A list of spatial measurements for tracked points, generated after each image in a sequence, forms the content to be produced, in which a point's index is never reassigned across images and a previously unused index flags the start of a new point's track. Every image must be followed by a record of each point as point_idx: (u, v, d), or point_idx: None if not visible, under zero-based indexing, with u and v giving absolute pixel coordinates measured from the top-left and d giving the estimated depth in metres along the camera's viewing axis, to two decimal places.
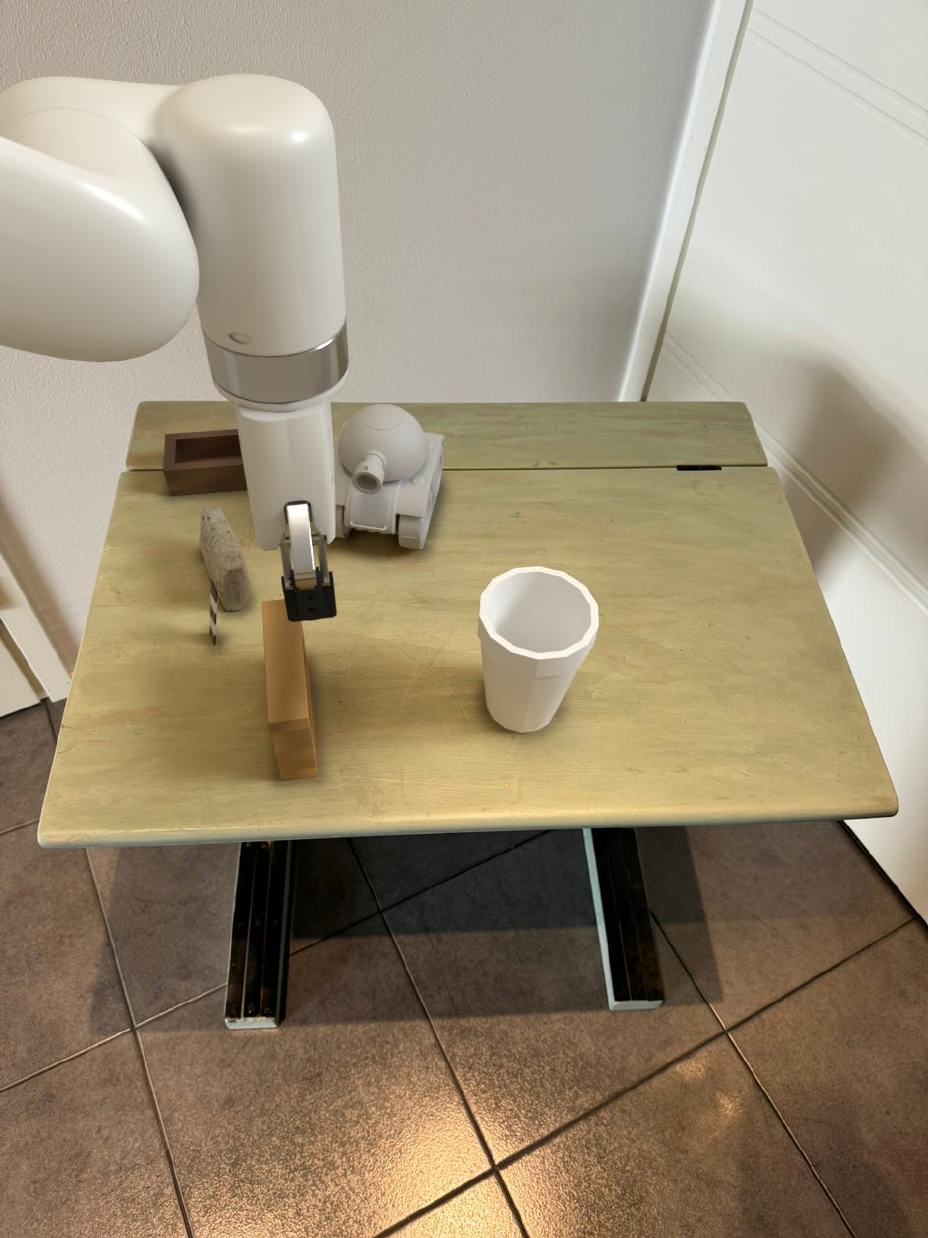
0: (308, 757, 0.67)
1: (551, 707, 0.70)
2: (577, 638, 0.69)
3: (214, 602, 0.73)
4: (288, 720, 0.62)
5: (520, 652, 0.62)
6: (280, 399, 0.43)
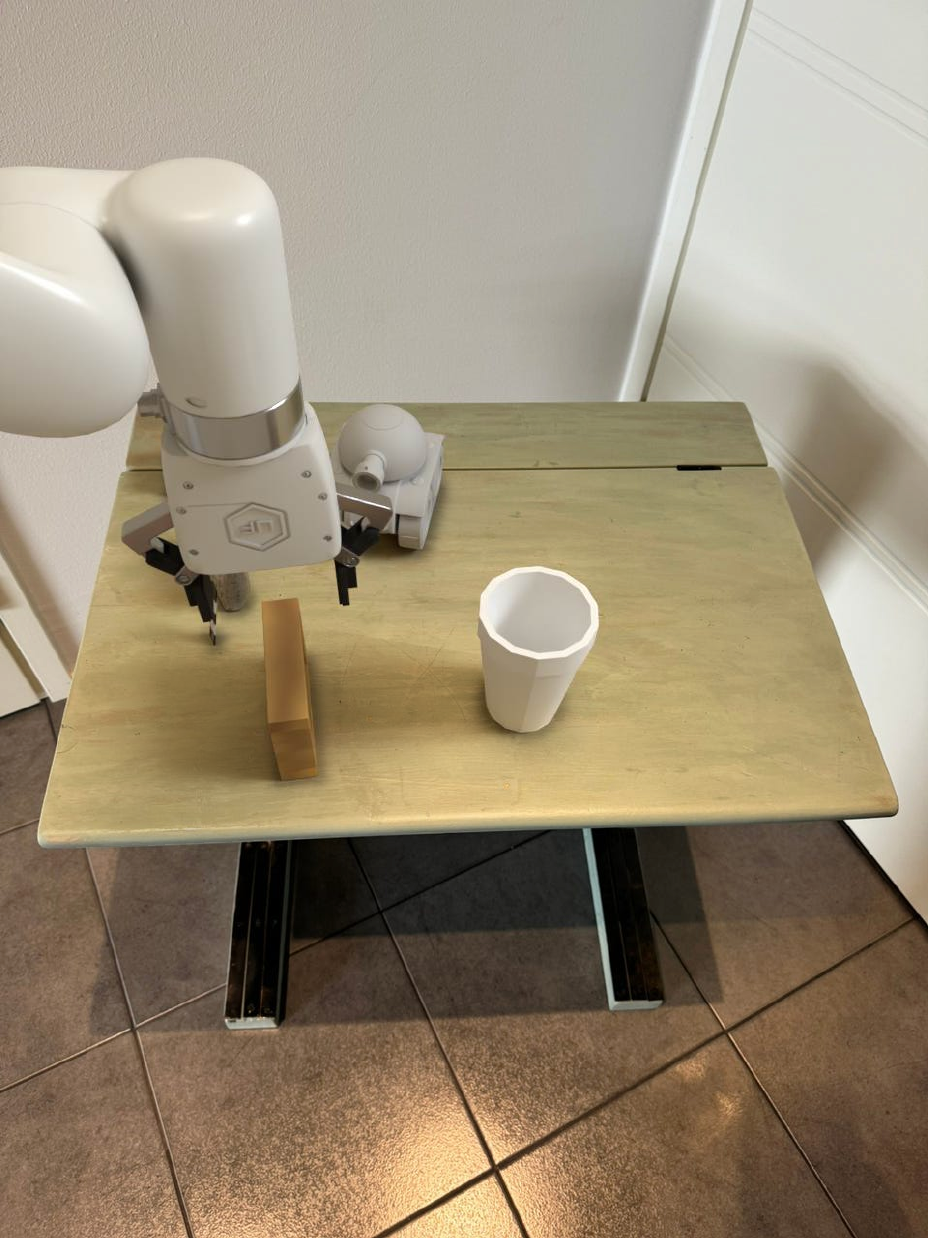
0: (308, 757, 0.67)
1: (551, 707, 0.70)
2: (577, 638, 0.69)
3: (214, 602, 0.73)
4: (288, 720, 0.62)
5: (520, 652, 0.62)
6: (304, 409, 0.48)
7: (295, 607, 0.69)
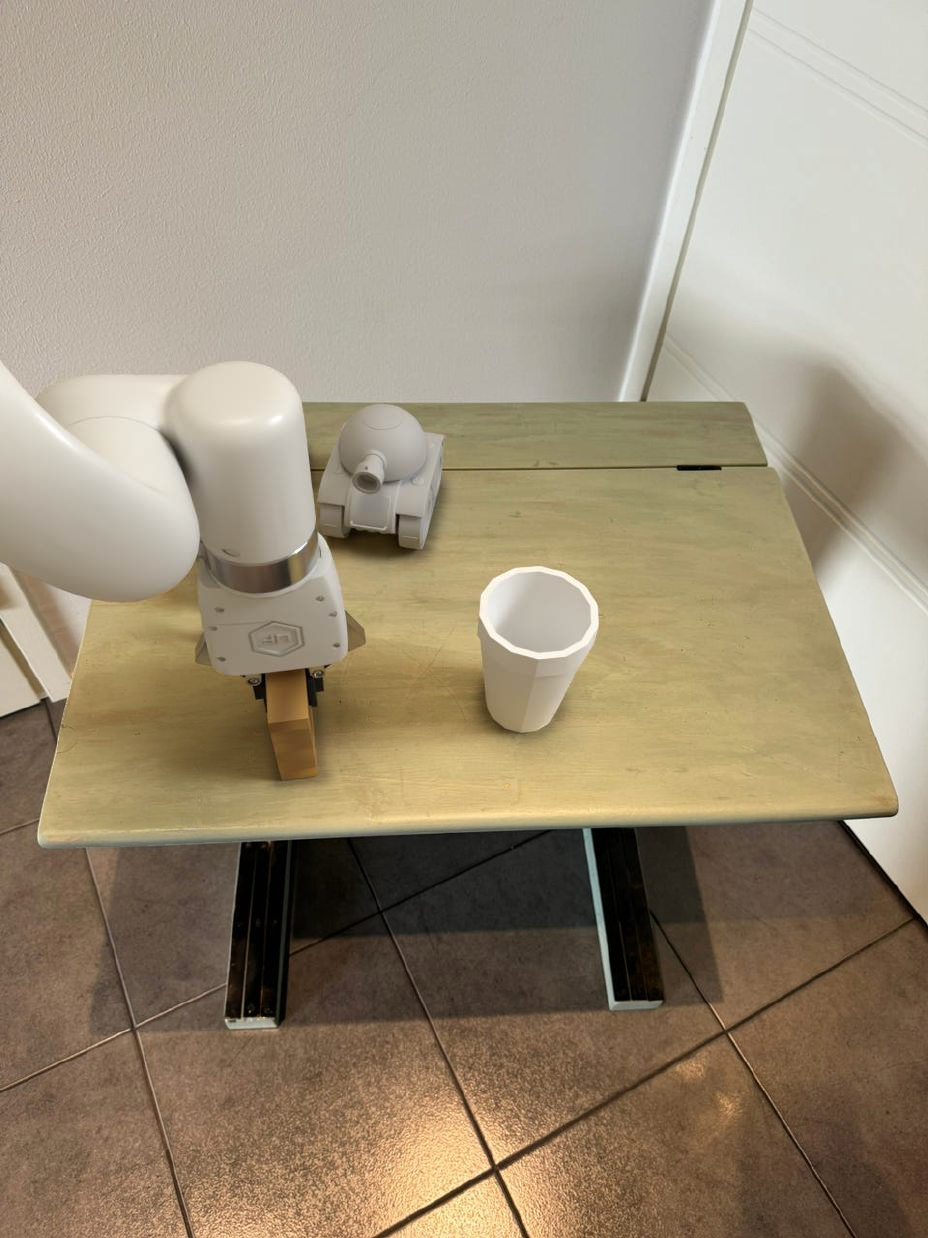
0: (308, 757, 0.67)
1: (551, 707, 0.70)
2: (577, 638, 0.69)
3: None
4: (288, 720, 0.62)
5: (520, 652, 0.62)
6: None
7: None
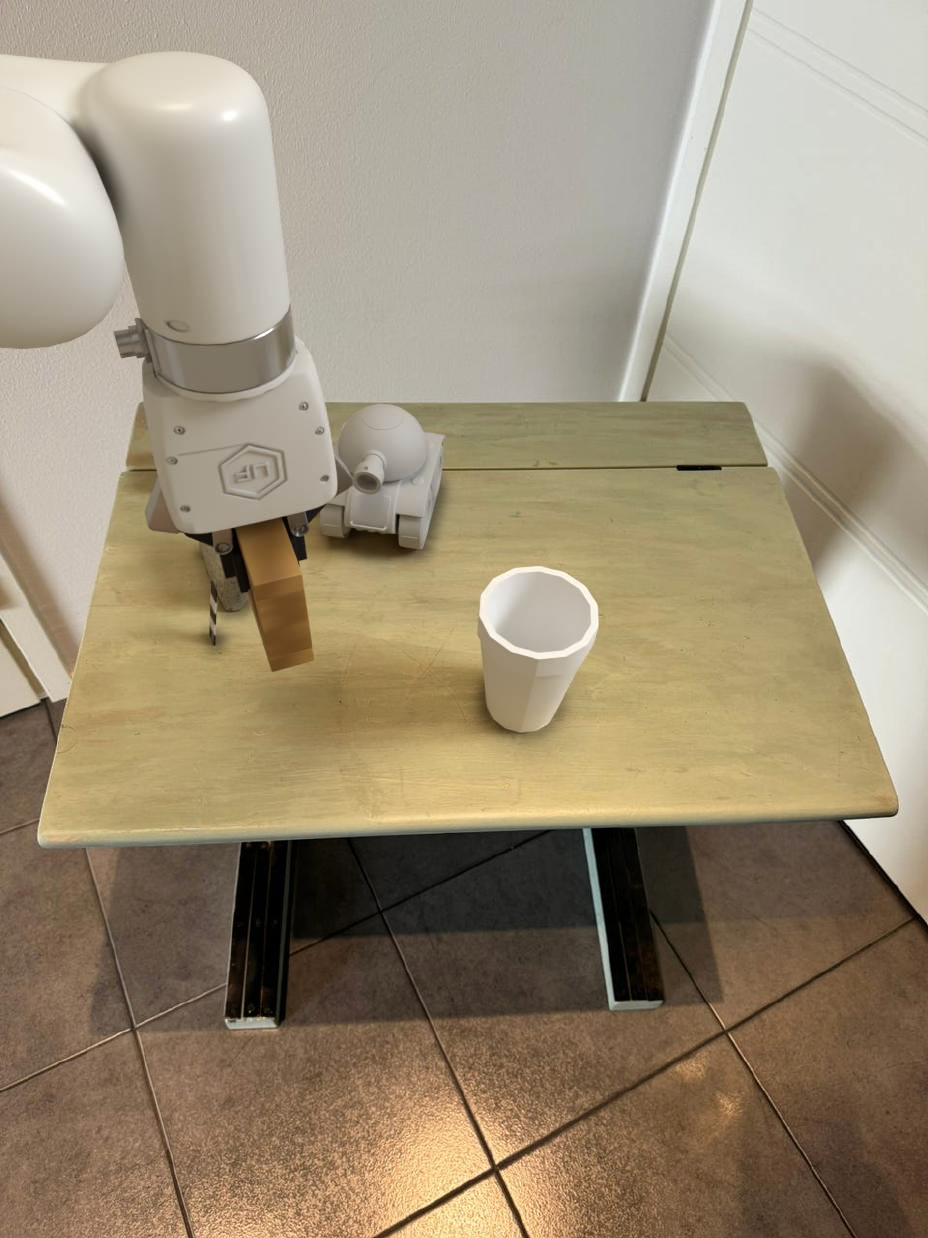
0: (303, 634, 0.55)
1: (551, 707, 0.70)
2: (577, 638, 0.69)
3: (214, 602, 0.73)
4: (278, 579, 0.50)
5: (520, 652, 0.62)
6: None
7: None
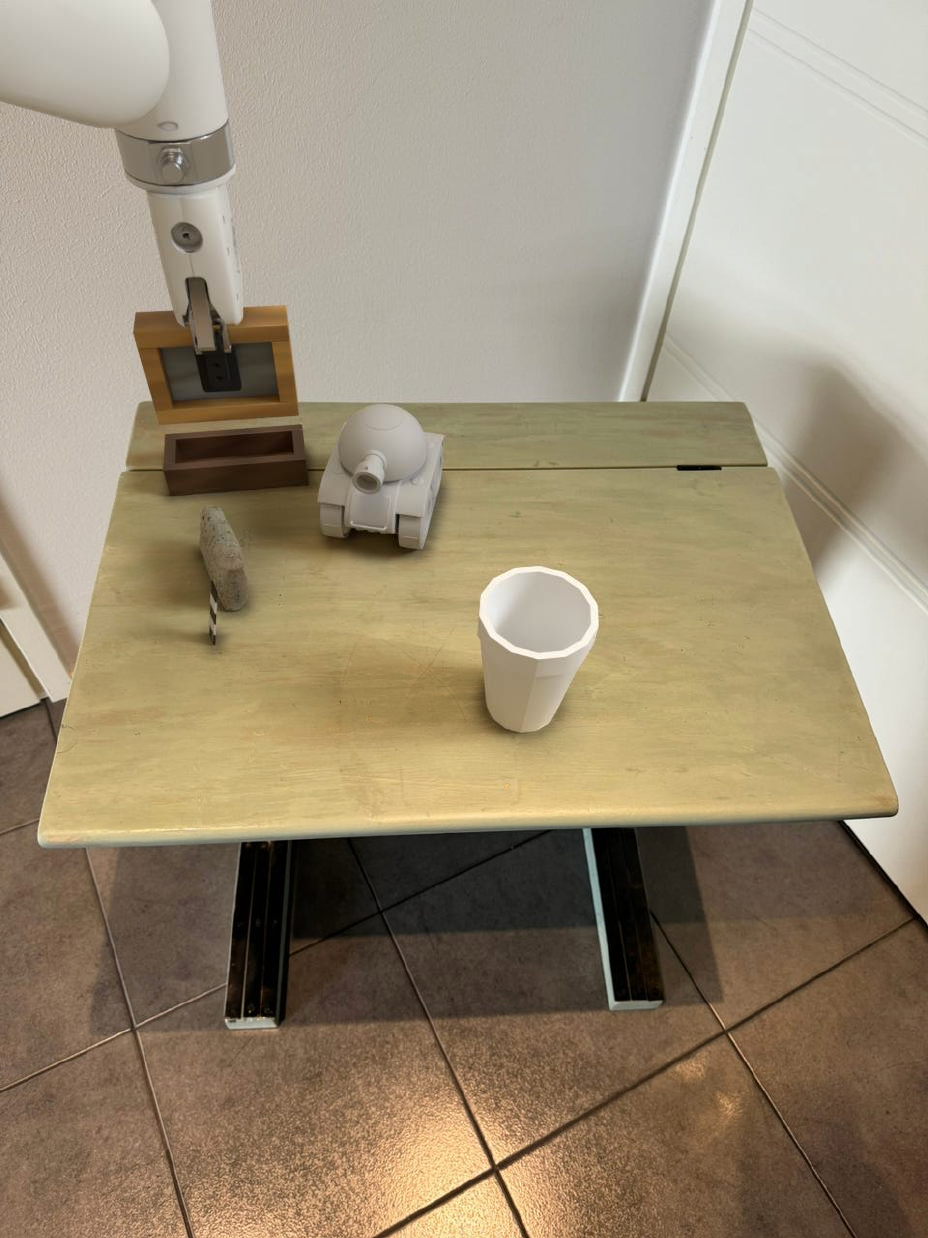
0: None
1: (551, 707, 0.70)
2: (577, 638, 0.69)
3: (214, 602, 0.73)
4: (286, 314, 0.68)
5: (520, 652, 0.62)
6: None
7: (148, 312, 0.67)
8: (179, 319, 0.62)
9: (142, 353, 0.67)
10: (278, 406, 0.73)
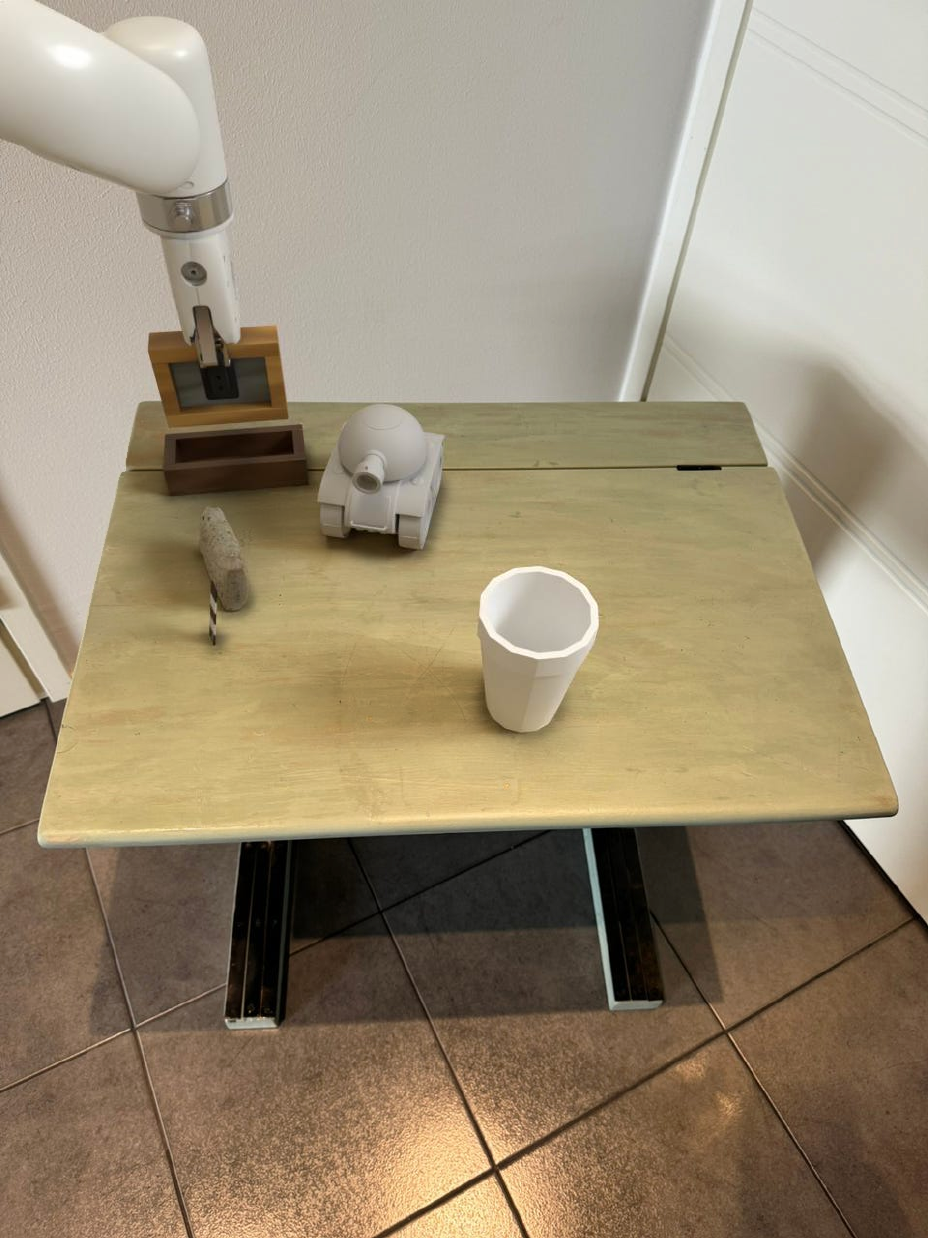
0: None
1: (551, 707, 0.70)
2: (577, 638, 0.69)
3: (214, 602, 0.73)
4: (277, 333, 0.80)
5: (520, 652, 0.62)
6: None
7: (160, 333, 0.79)
8: (187, 340, 0.74)
9: (155, 367, 0.79)
10: (270, 411, 0.85)
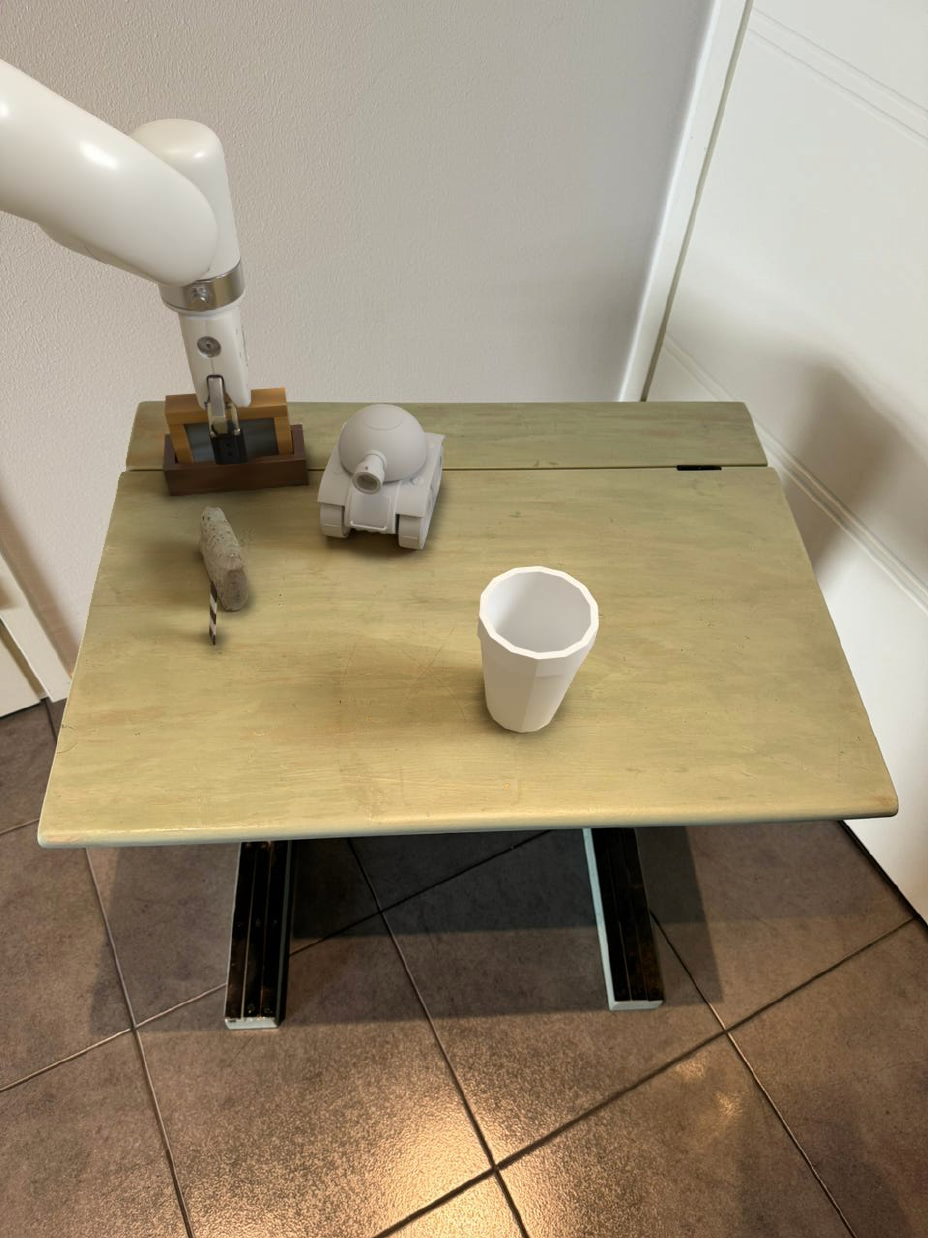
0: None
1: (551, 707, 0.70)
2: (577, 638, 0.69)
3: (214, 602, 0.73)
4: (285, 396, 0.86)
5: (520, 652, 0.62)
6: None
7: (176, 396, 0.85)
8: (201, 404, 0.79)
9: (171, 428, 0.85)
10: None
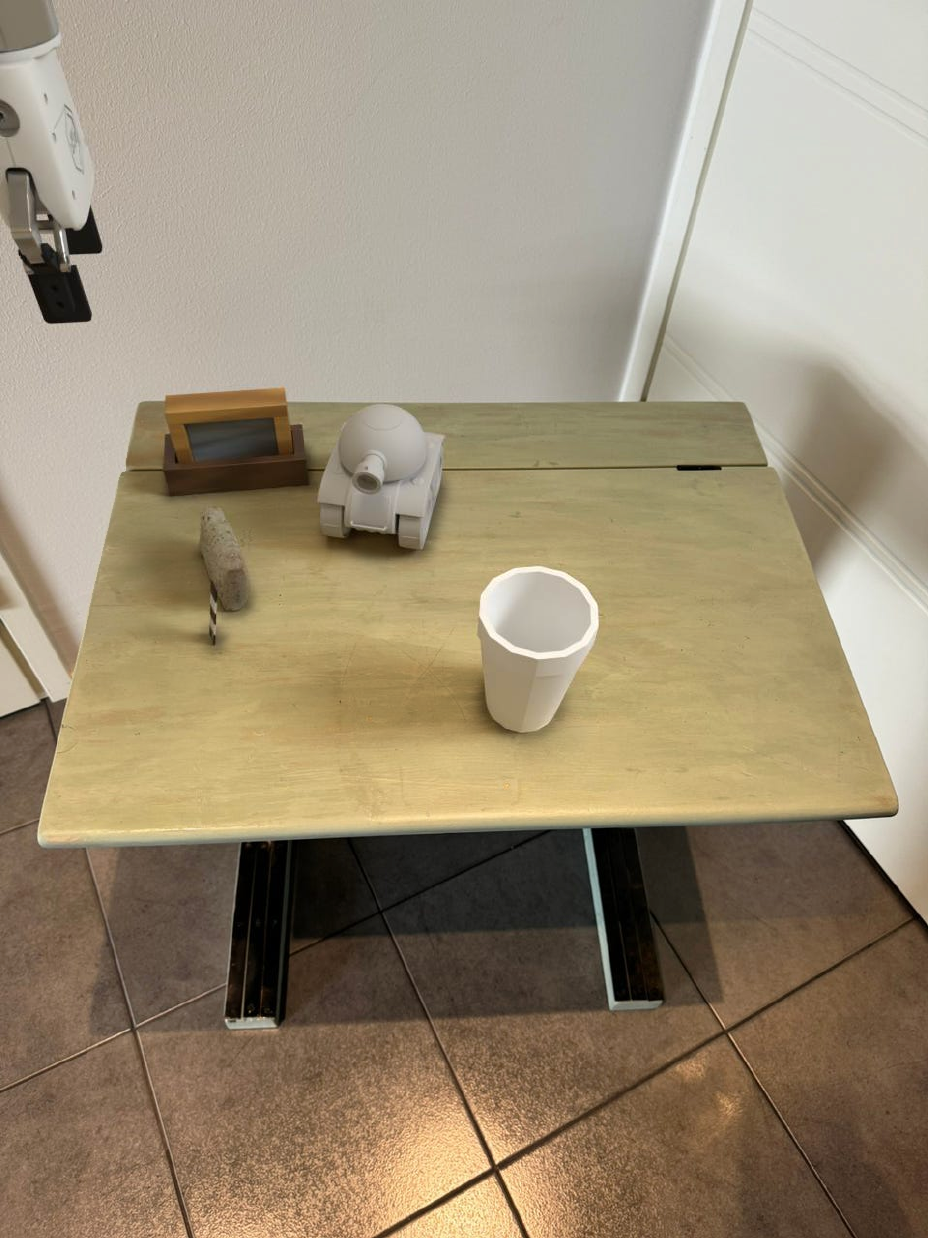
0: None
1: (551, 707, 0.70)
2: (577, 638, 0.69)
3: (214, 602, 0.73)
4: (285, 396, 0.86)
5: (520, 652, 0.62)
6: None
7: (176, 396, 0.85)
8: (7, 221, 0.54)
9: (171, 428, 0.85)
10: None
